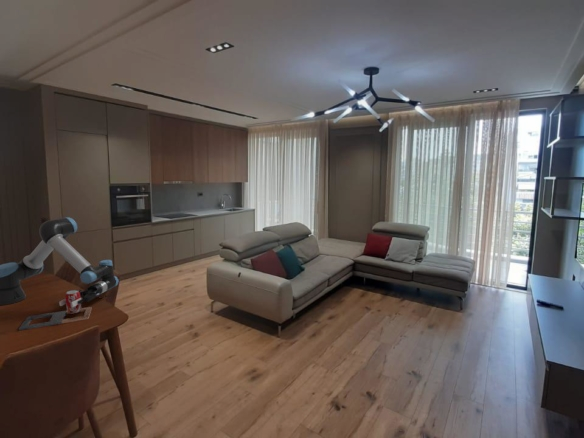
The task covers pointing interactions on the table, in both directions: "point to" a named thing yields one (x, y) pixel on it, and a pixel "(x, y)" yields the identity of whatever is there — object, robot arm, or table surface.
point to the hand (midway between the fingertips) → (66, 304)
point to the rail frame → (54, 319)
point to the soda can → (70, 298)
